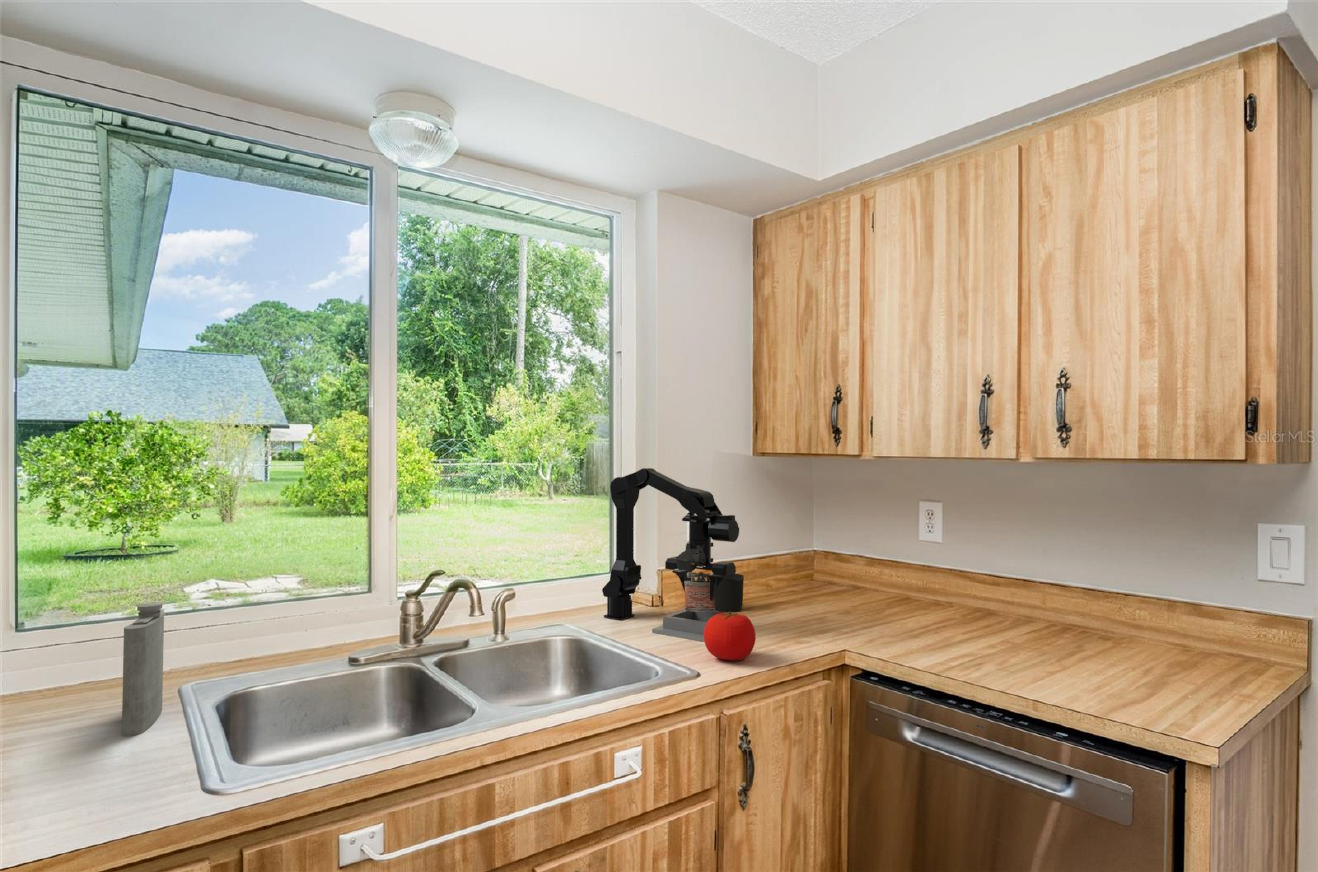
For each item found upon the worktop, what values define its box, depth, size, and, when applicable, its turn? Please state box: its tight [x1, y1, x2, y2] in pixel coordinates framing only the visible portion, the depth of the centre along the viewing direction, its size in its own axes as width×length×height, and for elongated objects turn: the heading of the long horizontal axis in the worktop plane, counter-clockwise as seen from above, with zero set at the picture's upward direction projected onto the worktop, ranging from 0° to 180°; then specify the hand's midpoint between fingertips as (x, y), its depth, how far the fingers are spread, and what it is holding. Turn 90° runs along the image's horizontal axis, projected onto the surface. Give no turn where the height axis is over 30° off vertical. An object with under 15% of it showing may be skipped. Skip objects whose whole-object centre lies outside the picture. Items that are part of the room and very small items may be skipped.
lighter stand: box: [651, 609, 726, 643], centre depth 187 cm, size 18×18×4 cm
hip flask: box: [121, 602, 165, 737], centre depth 125 cm, size 16×4×20 cm, turn 24°
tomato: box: [703, 612, 757, 661], centre depth 162 cm, size 11×12×10 cm
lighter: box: [683, 571, 716, 612], centre depth 188 cm, size 8×3×10 cm, turn 84°
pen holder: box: [714, 573, 744, 613], centre depth 214 cm, size 9×9×10 cm
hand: (699, 598), depth 188 cm, fingers closed on lighter, 7 cm apart
